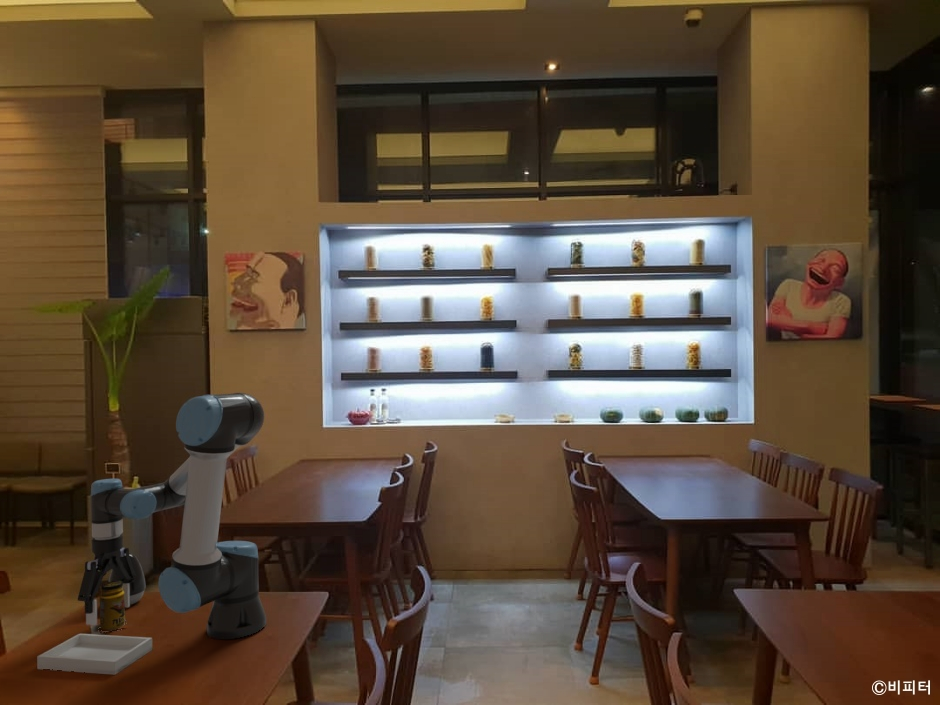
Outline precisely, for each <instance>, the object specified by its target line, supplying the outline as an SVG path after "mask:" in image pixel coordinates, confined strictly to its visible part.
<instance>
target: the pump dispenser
mask: <svg viewBox="0 0 940 705" xmlns="http://www.w3.org/2000/svg"><path fill="white" fill-rule="evenodd" d="M129 556H130V559H131V562H132V565H133V568H134V571H135V574H136V577H135V578H133V579H134V582H133V583H130V606H132V605H134V604H136V603H138V602H139V601H140V600H141V599H142V597H143V595H144V594H145V590H146V578H145V574H144V571H143V567H142V565H141V563H140V561H139V559H138V558H137V556H136V555H135V554H134V553H132V552H129ZM111 581H121V580H120V579H119V577H118V576H117V575H116V573H115V572H114V570H113V569H111V570H110V574H109V578H108V582H111ZM122 583H123V582H122Z"/></svg>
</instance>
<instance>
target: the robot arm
mask: <svg viewBox="0 0 940 705" xmlns="http://www.w3.org/2000/svg"><path fill="white" fill-rule="evenodd" d="M264 423H265V411H264V408H263V406H262V404H261V402H260V401H259V400H258V399H257V398H256V397H254V396H252V395H250V394H249V393H245V392H234V393H221V394H203V395H201V396H195V397H191V398H189V399H188V400H187V401H186V402H184V403H183V404H182V406H181V407H180V409H179V410H178V413H177V416H176V421H175V429H176V430H175V431H176V432H177V433H178V435H177V436H178V438H179V439H180V441H181V442H182V443H183V444H184V446H183V447H184V450H185V451H186V452H187V453H188V455H189V457H188V458H187V459H186V460H185V461H184V462H183V463H182V464H181V465H180V466H179V467H178V468H177V469H176V470H175V471H174V472H173V473H172V474H171V475H170V476H169V477H168V478H167V479H166V480H165V481H164V482H158V483H155V484H149V485H147V486H141V487H137V488H123V482H122V480H121V479H120V478H105V479H104V478H103V479H99V480H95V481H94V482H92V483H91V485H90V486H91V488H90V495H89V497H90V514H91V515H90V516H91V537H92V539H91V552H92V553H93V554H94V559H93V560H91V561H90V560H89V561H88V560H87V561H86V562H84V573H83V577H82V580H81V585H80V588H79V592H78V597H77V601H79V602H84V614H85V624H86V626H93V625H98V599H95V598H96V596H97V593H98V591H99V588H100V586H101V584H102V582H103V578H104V577H105V576H106V575H107V573H108V572H111V571H112V569H113V570H114V572H115V573H116V575H117V576H118V577H119V579H120V580H121V582H123V591H124V597H125V608H130V607H131V605H130V583H133V582H134V579H133V578H135V577H136V574H135V571H134V568H133V565H132V562H131V559H130V556H129V553H130V548H129V547H124V535H122V534H123V533H124V526H123V525H124V522H123V521H124V519H123V518H126V519H129V520H143V519H147V518H149V517H150V516H151V515H152V514H153V513H156V512H157V513H158V512H160V511H161V512H162V511H164V510H169V509H172V508H178V507H182V506H184V507H183V517H182V524H181V535H180V541H179V543H180V544H179V548H177V549H176V550H175V551H173V553H172V555H171V556H172V557H171V564H170V567H166V568H165V569H164V570H163V571H162V572H161V573H160V575H159V578H158V591H159V594H160V597H161V599H162V600H163V602H164V604H165V605H166V606H167V608H168V609H170V610H172V612H175V613H178V614H185V613H188V612H192V611H196V610H198V609H199V608H200V607H203V606H206V605H207V604H209V603H212V607H211V610H210V613H209V616H208V620H207V624H206V634H207V636H208V637H210V638H211V639H217V640H235V638H237V639H241V638H240V637H242V638H245V637H244V636H246V637H248V636H247V635H249V636H252V635H254V634H253V633H255V634H256V632H257V633H258V631H259V630H260V631H262V630H263V629H264V628H265V627H266V626H267V615H266V612H265V609H264V606H263V603H262V601H261V598H260V592H259V591H260V590H259V589H260V584H259V573H260V572H259V569H260V568H259V559H260V558H259V553H258V552H259V551H258V546H257V544H256V543H254V542H251V541H246V540H226V541H219V542H218V538H219V529H220V523H221V522H220V521H221V511H222V503H223V494H224V488H225V486H224V485H225V477H226V472H227V469H226V468H227V460H228V458H229V457H230V456H231V455H233V453H234V452H236V450H237V449H238V448H240V447H243V446H246V445H248V444H249V443H250V442H251V441H252V440H253V439H254V438H255V437H256V436H257V435H258V434H259V432H260V431H261V430H262V427H263V425H264ZM265 625H266V626H265ZM263 627H264V628H263ZM262 628H263V629H262ZM261 629H262V630H261ZM260 631H259V632H260ZM251 634H252V635H251Z"/></svg>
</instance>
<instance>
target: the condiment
mask: <svg viewBox="0 0 940 705" xmlns="http://www.w3.org/2000/svg"><path fill="white" fill-rule="evenodd" d="M100 586H101V587H100V595H99V624H96V625H89V626H90V631H91V633H90V634H96V635H103V634H105V633H106V632H105V633H103V632H102V631H111V630H115V629H118V628H120V627H122V626H124V625H125V621H126V612H125V611H126V610H125V609H126V607H125V597H124V591H123V583H122V582H121V581H111V582H109V581H108V582H105V583H102V585H100ZM99 627H101V628H99ZM98 628H99V629H98ZM98 630H99V632H98ZM101 630H102V631H101ZM100 632H102V633H100Z"/></svg>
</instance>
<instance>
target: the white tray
mask: <svg viewBox="0 0 940 705" xmlns="http://www.w3.org/2000/svg"><path fill="white" fill-rule="evenodd" d="M152 651H153V637H148V636H147V637H145V636H127V635H126V636H125V635H112V634H111V635H109V634H98V635H96V634H92V633H78V634H76V635H74V636H72V637H71V638H69V639H66V640H65V641H63V642H62V643H59V644H58V645H56V646H54V647H52V648H50V649H48V650H47V651H45V652H43V653H41V654H39V655H37V656H36V658H37V659H36V662H37V666H36V667H37V670H43V669H50V670H49V671H57V670H62V671H61V672H71V671H74V672H75V673H84V672H85V674H86V673H88V674H102V675H114V676H115V675H117V674H118V673H120V672H122V671H123V670H125V669H126V668H128V667H129V666H131V665H132V664H133V663H135V662H137V661H138V660H139V659H140V658H143V657H144V656H146V654H148V653H150V652H152ZM52 669H53V670H52Z"/></svg>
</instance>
